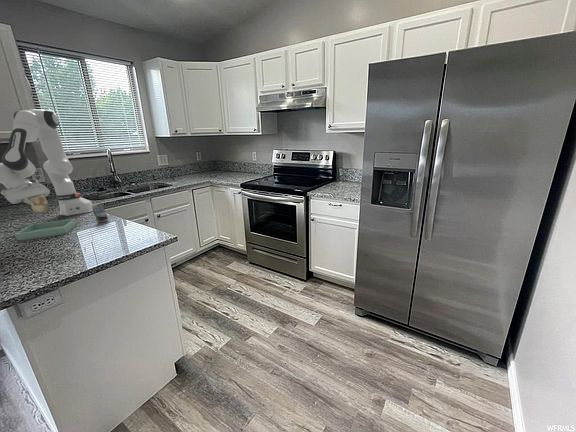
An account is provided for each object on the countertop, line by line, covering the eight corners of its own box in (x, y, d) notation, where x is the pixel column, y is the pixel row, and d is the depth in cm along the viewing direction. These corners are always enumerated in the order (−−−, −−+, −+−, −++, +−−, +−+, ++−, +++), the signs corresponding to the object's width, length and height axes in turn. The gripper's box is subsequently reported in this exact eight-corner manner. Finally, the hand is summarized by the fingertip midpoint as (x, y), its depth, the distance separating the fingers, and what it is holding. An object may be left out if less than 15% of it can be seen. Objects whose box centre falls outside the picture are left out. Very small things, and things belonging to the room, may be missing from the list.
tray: (77, 224, 167) (75, 218, 166) (66, 233, 151) (63, 227, 150) (34, 230, 160) (31, 224, 159) (17, 240, 144) (14, 234, 143)
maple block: (42, 209, 154) (37, 196, 152) (49, 209, 153) (45, 196, 151) (33, 211, 149) (28, 198, 147) (41, 211, 149) (36, 198, 146)
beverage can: (102, 223, 167) (97, 205, 164) (93, 222, 169) (88, 205, 165) (110, 219, 173) (106, 202, 169) (101, 219, 175) (96, 202, 171)
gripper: (-1, 186, 137) (22, 204, 139) (39, 179, 157) (58, 195, 158) (-4, 195, 139) (18, 212, 141) (35, 186, 159) (54, 202, 160)
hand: (40, 203), depth 150 cm, fingers closed on maple block, 5 cm apart
